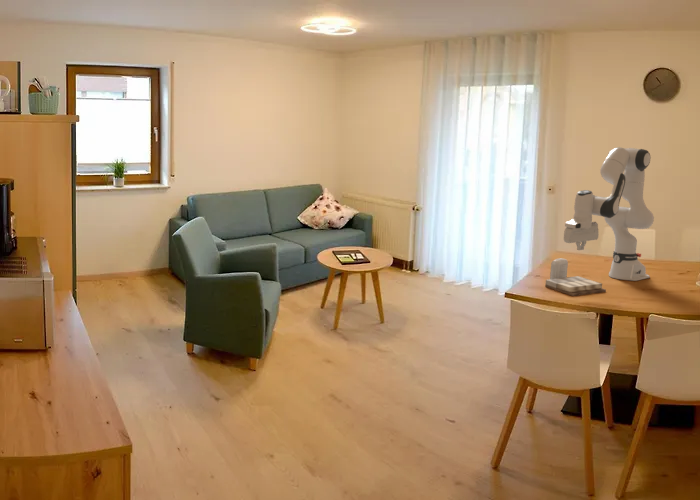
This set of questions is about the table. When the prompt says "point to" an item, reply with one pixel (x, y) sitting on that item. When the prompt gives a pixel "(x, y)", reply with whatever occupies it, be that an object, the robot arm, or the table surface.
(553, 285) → the floor section
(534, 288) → the table surface
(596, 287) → the plank
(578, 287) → the plank
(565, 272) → the grey arched block
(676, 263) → the table surface
